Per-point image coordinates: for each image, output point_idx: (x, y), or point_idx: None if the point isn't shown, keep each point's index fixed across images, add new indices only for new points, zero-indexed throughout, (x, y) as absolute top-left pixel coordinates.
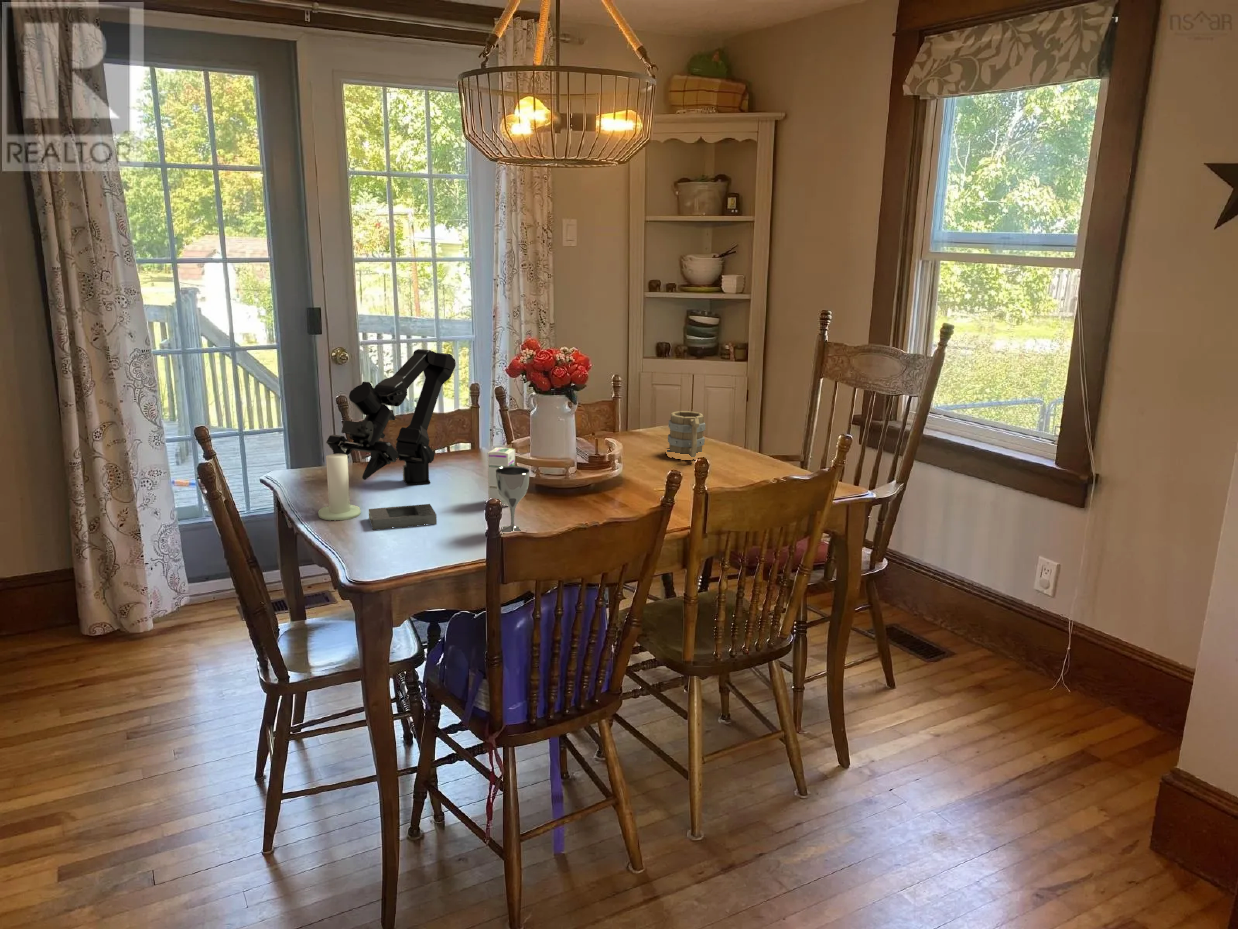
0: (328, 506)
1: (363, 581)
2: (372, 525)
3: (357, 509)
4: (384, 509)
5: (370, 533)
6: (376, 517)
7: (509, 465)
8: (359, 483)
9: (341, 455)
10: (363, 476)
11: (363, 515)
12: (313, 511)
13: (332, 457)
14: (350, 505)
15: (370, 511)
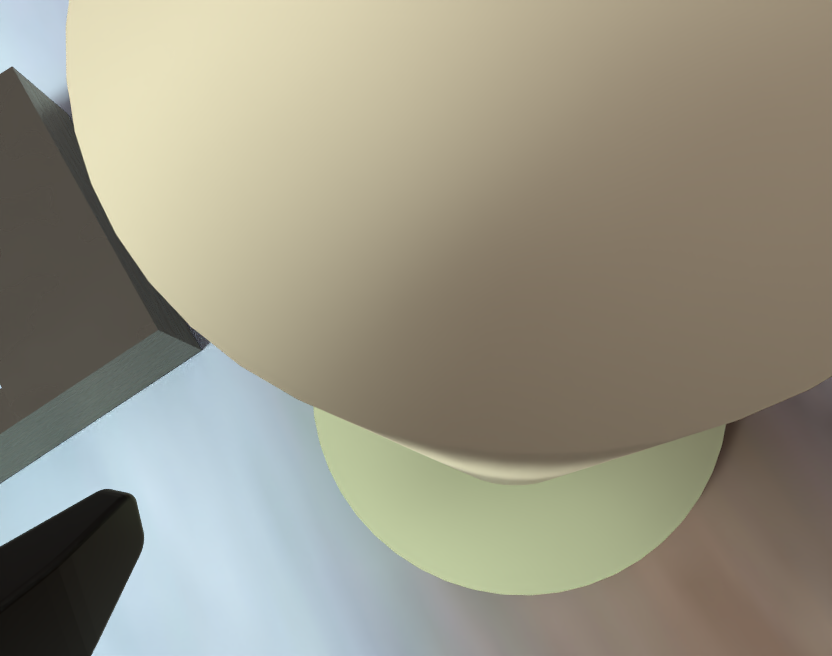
0: (699, 467)
1: None
2: (77, 142)
3: (357, 462)
4: (6, 362)
5: (65, 51)
6: (5, 132)
7: None
8: None
9: (375, 134)
10: (91, 500)
11: (287, 422)
12: (816, 392)
13: None
14: (490, 569)
15: (113, 265)
